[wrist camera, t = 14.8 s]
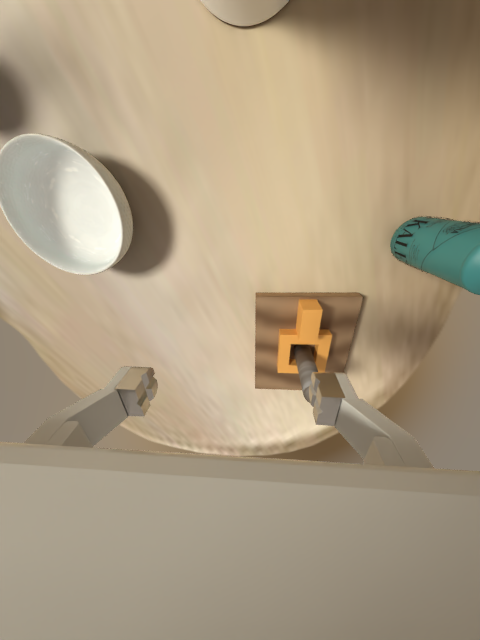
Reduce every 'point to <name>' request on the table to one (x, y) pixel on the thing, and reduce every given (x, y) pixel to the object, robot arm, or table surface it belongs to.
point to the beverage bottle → (441, 249)
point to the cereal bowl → (64, 204)
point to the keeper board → (287, 319)
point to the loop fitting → (304, 337)
